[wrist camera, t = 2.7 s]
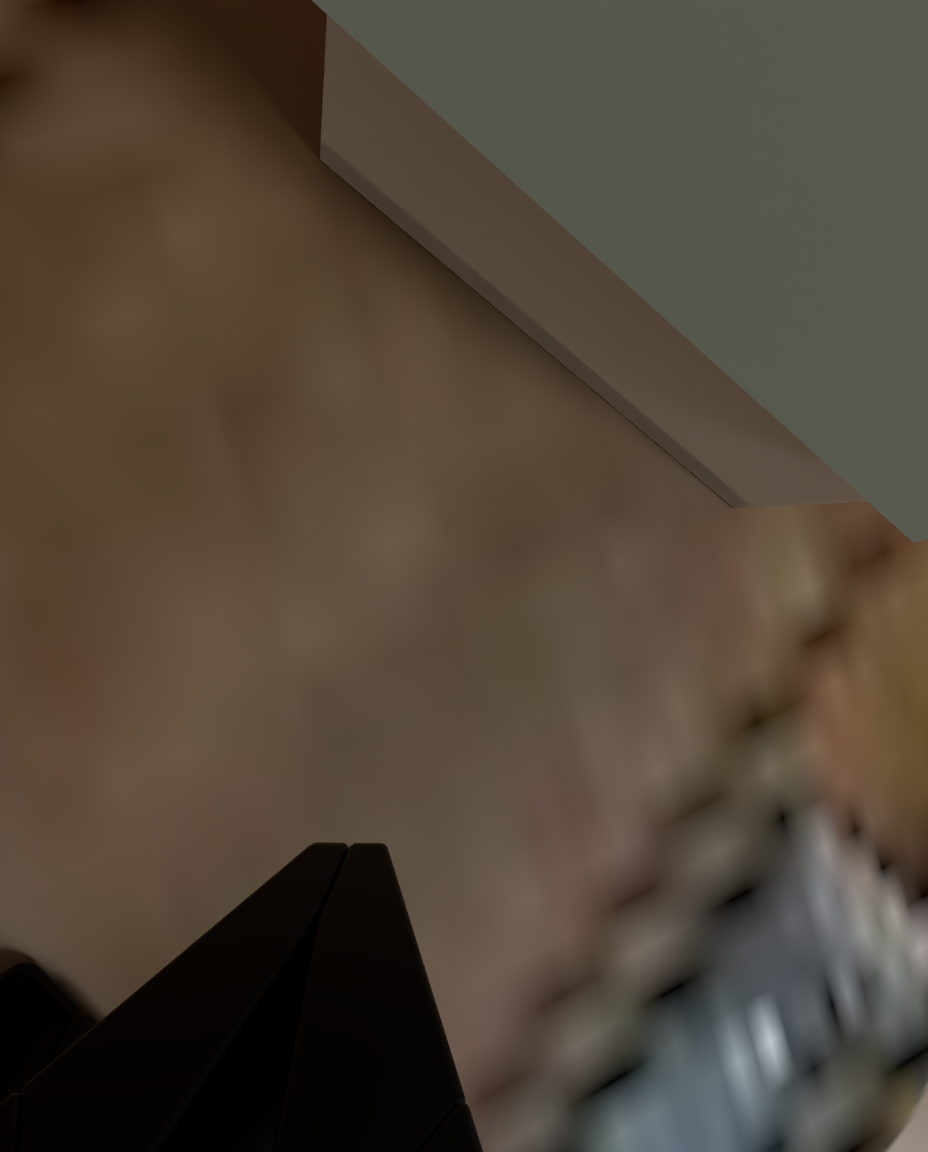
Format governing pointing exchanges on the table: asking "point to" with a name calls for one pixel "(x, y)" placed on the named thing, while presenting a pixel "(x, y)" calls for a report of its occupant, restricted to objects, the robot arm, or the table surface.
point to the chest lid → (722, 184)
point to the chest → (555, 287)
